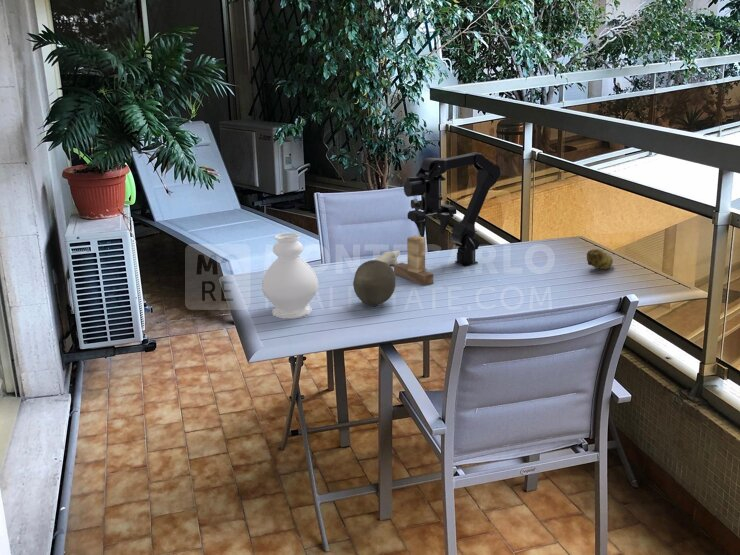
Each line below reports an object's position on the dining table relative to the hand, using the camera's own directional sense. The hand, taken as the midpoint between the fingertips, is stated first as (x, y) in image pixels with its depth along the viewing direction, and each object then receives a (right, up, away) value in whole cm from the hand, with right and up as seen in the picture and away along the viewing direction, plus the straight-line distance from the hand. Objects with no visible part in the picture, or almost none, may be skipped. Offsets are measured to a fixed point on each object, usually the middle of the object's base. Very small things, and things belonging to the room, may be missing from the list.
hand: (432, 235), depth 271 cm
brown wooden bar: (-7, -16, -6) cm, 18 cm away
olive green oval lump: (+61, -12, 0) cm, 63 cm away
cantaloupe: (-21, -25, -32) cm, 45 cm away
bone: (-19, -13, +6) cm, 24 cm away
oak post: (-6, -13, -8) cm, 16 cm away
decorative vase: (-48, -26, -35) cm, 65 cm away
